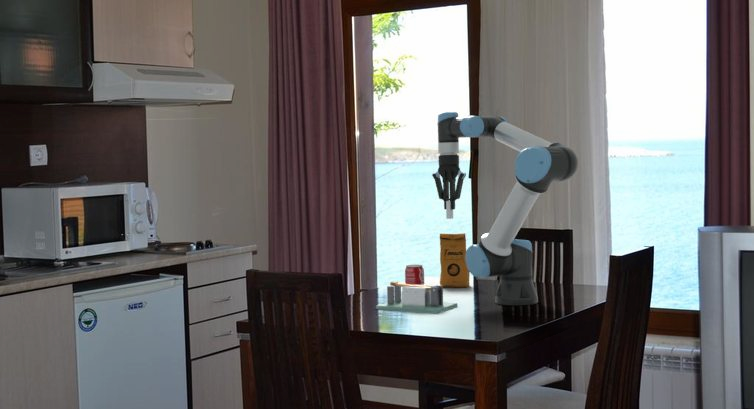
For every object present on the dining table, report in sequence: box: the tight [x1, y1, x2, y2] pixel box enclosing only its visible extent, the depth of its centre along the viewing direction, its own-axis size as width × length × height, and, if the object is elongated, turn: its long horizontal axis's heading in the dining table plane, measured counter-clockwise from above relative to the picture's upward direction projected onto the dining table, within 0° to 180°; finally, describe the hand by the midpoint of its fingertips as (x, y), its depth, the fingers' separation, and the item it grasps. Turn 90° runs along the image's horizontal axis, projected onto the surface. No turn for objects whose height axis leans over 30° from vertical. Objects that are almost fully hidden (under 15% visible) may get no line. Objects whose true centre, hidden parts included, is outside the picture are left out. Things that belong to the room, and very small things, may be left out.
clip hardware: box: [386, 284, 444, 307], centre depth 328 cm, size 19×7×8 cm, turn 60°
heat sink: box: [401, 284, 436, 307], centre depth 328 cm, size 9×9×6 cm
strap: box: [389, 281, 431, 290], centre depth 329 cm, size 17×2×1 cm, turn 60°
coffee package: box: [439, 232, 471, 288], centre depth 381 cm, size 10×12×22 cm
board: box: [375, 299, 458, 314], centre depth 328 cm, size 24×16×1 cm, turn 60°
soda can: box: [404, 264, 425, 285], centre depth 346 cm, size 7×7×13 cm
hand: (449, 218), depth 342 cm, fingers closed
